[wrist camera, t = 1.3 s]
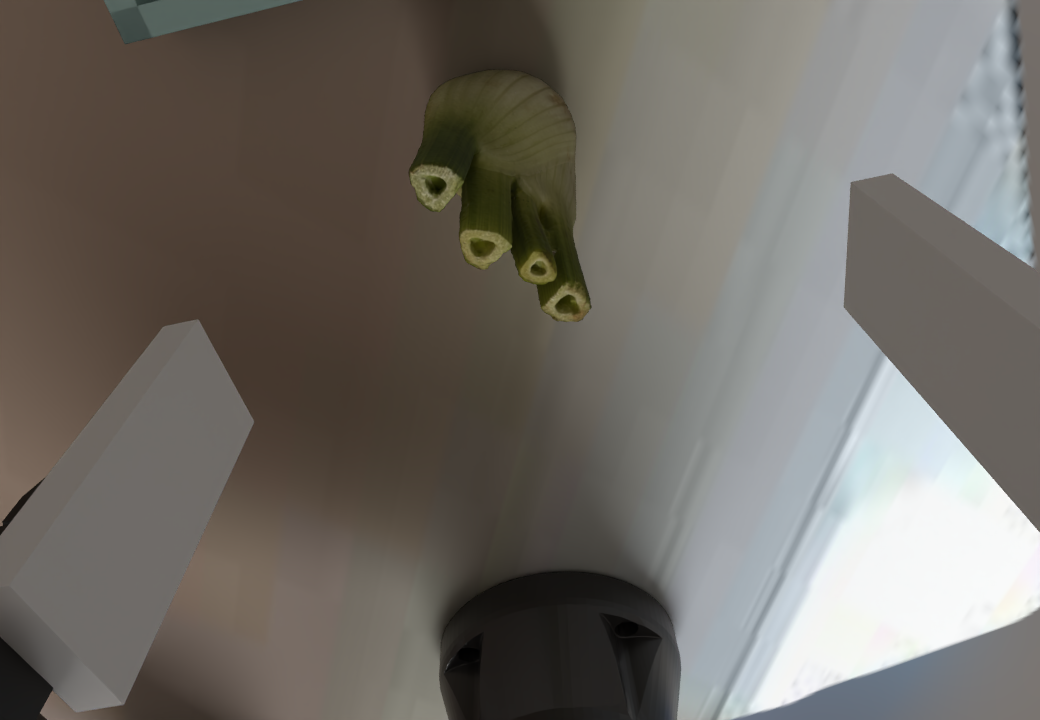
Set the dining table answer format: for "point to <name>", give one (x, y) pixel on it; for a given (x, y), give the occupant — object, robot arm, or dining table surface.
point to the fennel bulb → (507, 179)
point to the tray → (177, 14)
